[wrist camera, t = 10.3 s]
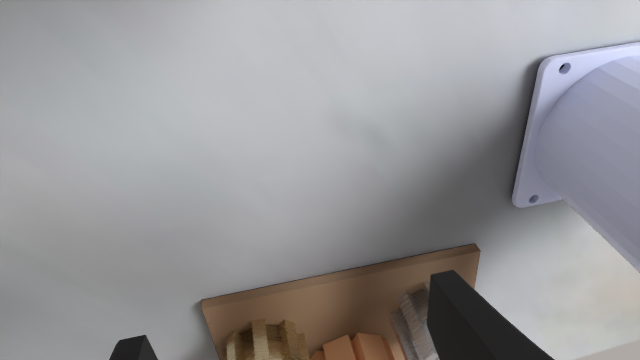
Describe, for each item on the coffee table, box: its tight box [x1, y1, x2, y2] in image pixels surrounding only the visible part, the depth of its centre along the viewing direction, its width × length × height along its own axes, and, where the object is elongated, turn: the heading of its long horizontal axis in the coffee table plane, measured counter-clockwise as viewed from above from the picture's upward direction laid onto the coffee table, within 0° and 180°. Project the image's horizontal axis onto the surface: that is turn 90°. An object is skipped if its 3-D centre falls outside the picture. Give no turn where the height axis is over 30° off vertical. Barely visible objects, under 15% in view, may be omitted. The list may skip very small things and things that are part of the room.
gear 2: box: [389, 281, 439, 360], centre depth 25 cm, size 5×5×4 cm
